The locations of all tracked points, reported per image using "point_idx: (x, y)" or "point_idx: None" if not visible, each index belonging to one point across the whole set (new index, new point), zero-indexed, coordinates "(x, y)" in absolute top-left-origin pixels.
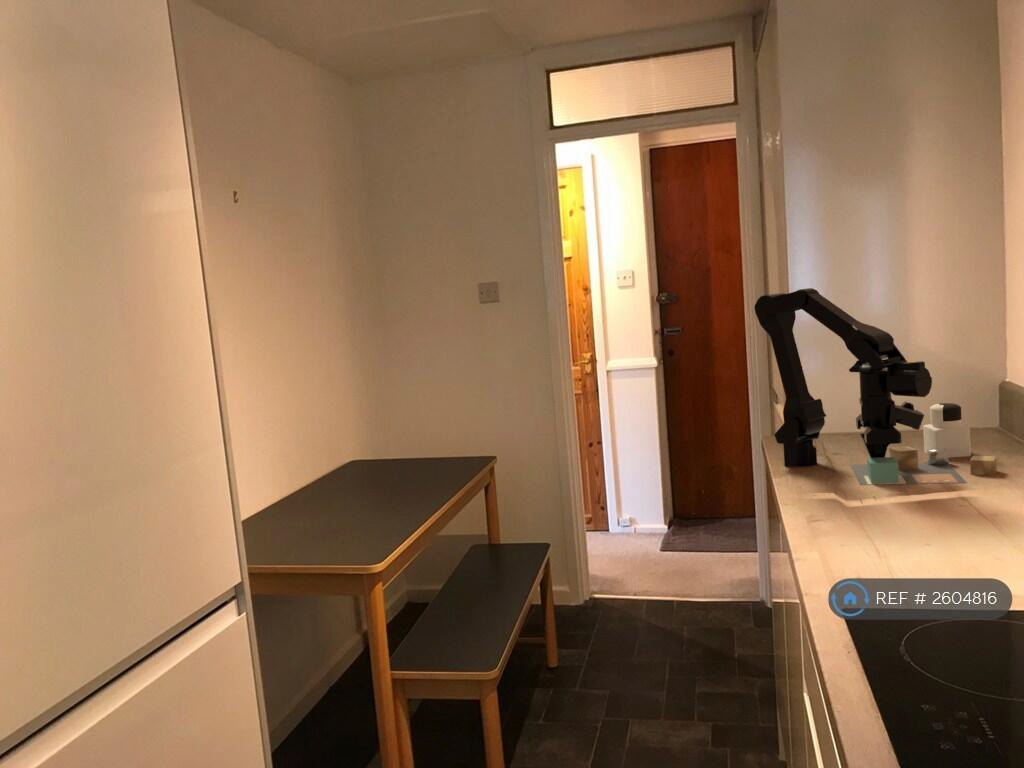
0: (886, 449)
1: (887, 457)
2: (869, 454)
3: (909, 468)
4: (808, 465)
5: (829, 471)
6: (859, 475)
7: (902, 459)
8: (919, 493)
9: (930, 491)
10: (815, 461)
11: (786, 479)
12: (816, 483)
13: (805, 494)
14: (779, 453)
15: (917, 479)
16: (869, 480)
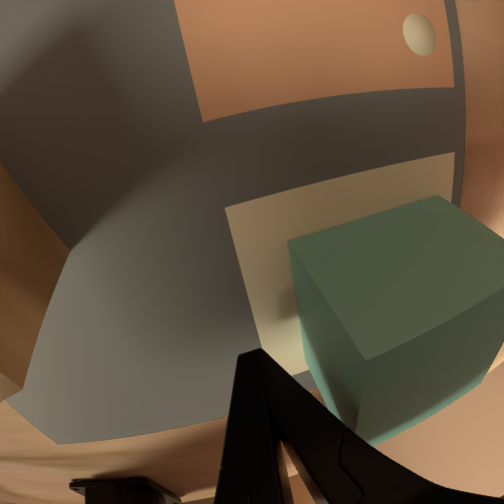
0: (399, 465)
1: (370, 393)
2: (289, 482)
3: (11, 183)
4: (142, 496)
5: (128, 458)
6: None
7: (15, 281)
8: (494, 93)
9: (470, 36)
10: (121, 500)
11: None
12: None
13: None
14: (17, 499)
15: (371, 75)
16: None
